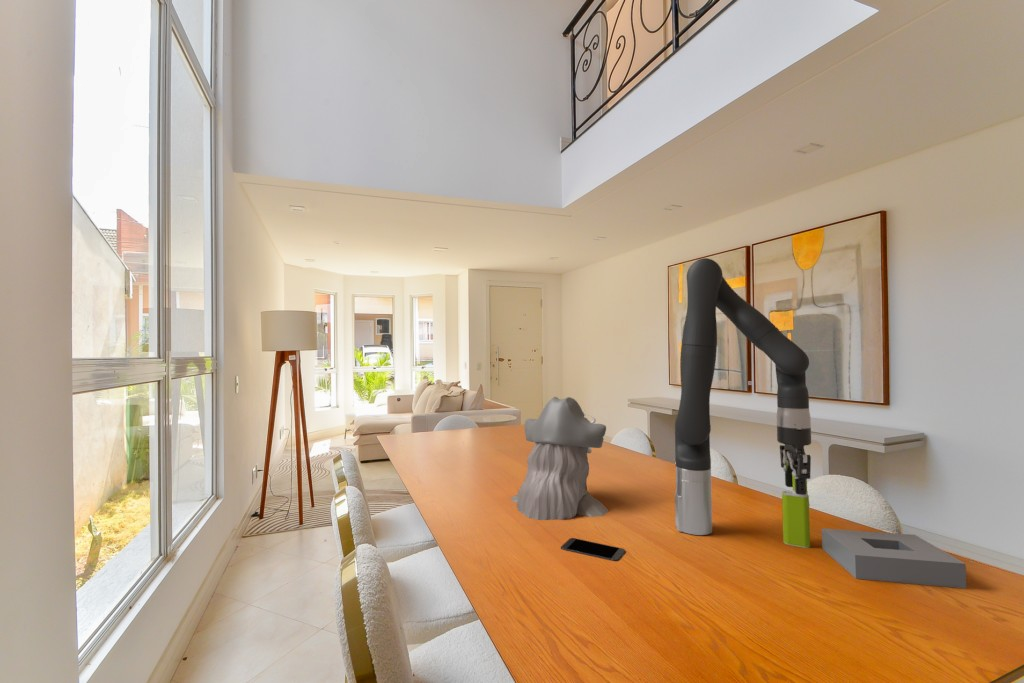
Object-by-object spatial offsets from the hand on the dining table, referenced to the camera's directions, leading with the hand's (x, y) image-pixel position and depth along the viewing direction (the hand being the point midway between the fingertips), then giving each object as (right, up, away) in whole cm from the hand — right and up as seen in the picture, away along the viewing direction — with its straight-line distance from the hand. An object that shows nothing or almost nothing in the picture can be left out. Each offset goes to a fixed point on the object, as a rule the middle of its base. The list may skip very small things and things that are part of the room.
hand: (795, 490), depth 117 cm
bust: (-58, -16, +33) cm, 68 cm away
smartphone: (-53, -14, -4) cm, 55 cm away
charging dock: (+12, -13, -14) cm, 23 cm away
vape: (0, -14, -1) cm, 14 cm away
